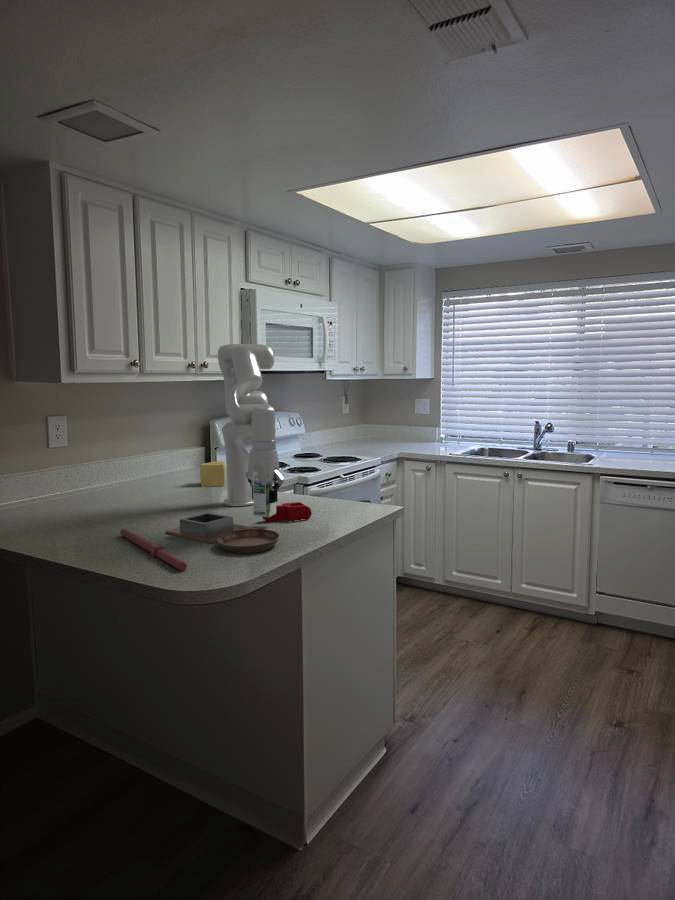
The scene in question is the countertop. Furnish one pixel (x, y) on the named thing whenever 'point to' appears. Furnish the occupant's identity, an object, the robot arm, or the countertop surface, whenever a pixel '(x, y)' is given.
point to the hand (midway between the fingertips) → (264, 500)
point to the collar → (206, 527)
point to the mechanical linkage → (290, 512)
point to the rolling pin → (154, 550)
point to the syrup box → (262, 498)
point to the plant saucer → (248, 540)
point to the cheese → (212, 474)
